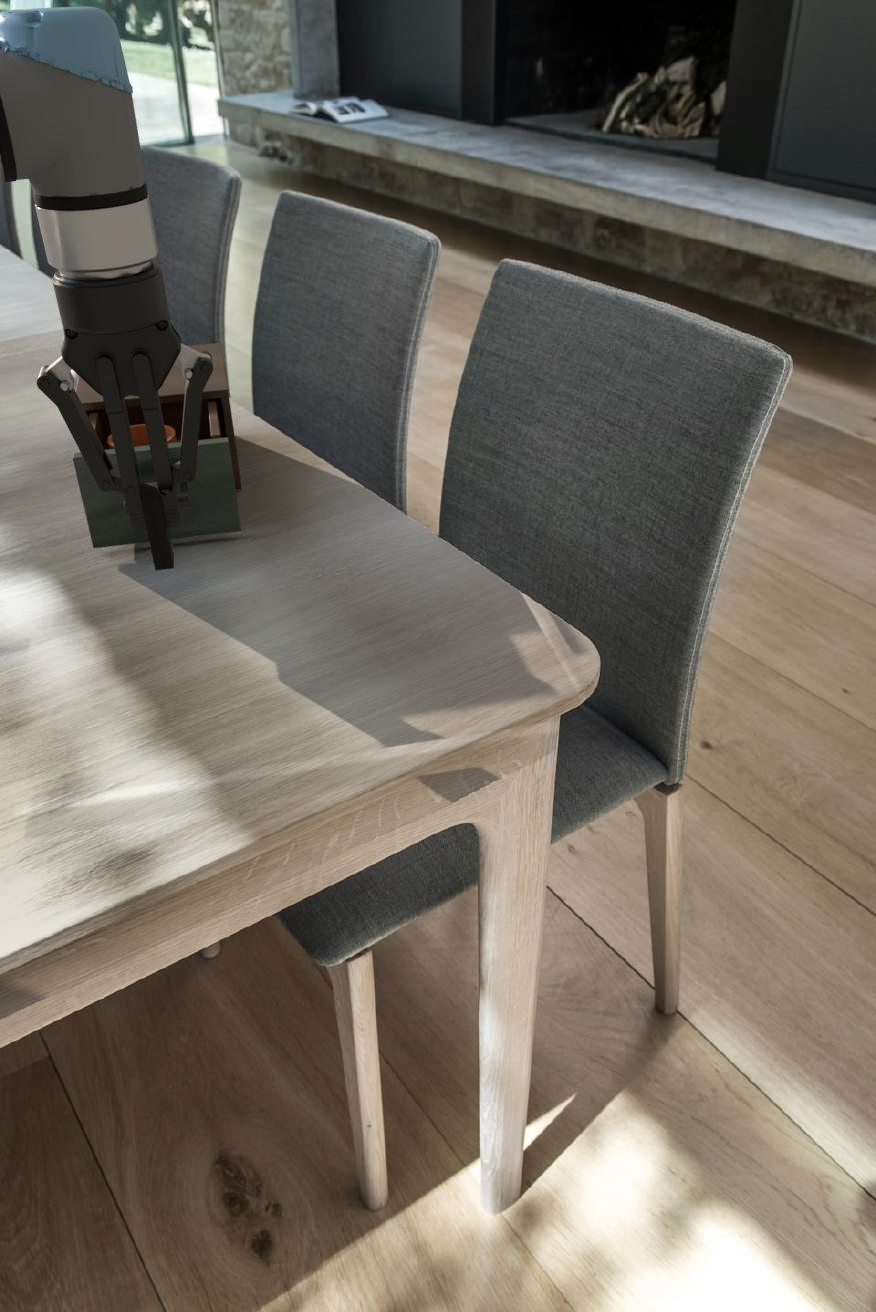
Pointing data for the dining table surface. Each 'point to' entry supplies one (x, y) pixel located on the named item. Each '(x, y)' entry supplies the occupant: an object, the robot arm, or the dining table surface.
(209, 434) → the drawer
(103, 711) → the dining table surface
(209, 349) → the cabinet
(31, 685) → the dining table surface
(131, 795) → the dining table surface
